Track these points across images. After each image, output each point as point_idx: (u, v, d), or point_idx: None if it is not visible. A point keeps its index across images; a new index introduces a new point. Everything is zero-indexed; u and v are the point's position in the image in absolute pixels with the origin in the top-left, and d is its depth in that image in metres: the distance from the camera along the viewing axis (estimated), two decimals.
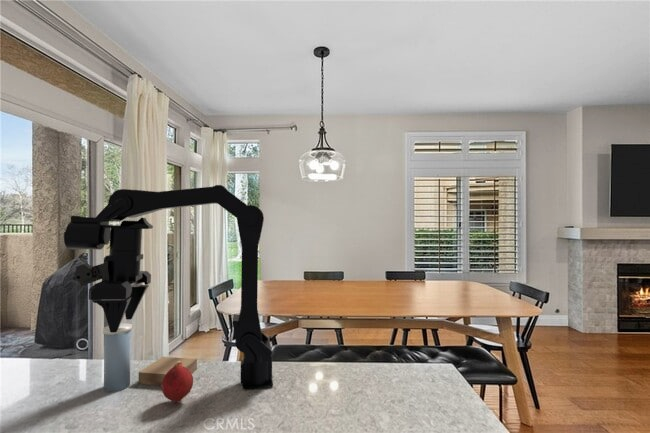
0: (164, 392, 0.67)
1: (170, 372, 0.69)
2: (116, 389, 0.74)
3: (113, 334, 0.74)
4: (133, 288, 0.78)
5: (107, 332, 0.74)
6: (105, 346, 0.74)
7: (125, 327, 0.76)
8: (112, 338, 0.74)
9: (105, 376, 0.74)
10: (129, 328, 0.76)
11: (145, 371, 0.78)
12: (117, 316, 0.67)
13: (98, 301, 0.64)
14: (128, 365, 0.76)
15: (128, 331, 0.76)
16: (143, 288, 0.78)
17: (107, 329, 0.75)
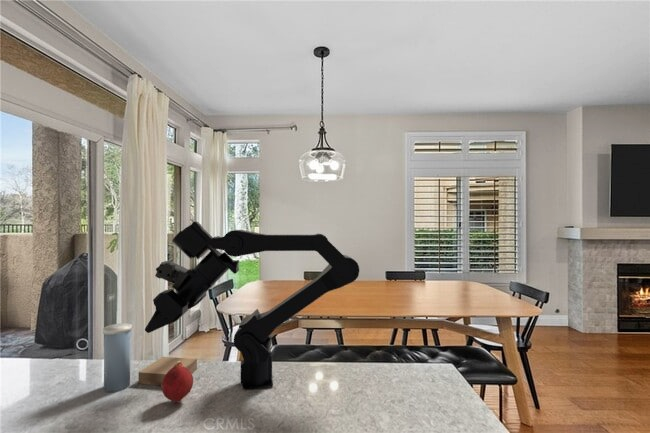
0: (164, 392, 0.67)
1: (170, 372, 0.69)
2: (116, 389, 0.74)
3: (113, 334, 0.74)
4: None
5: (107, 332, 0.74)
6: (105, 346, 0.74)
7: (125, 327, 0.76)
8: (112, 338, 0.74)
9: (105, 376, 0.74)
10: (129, 328, 0.76)
11: (145, 371, 0.78)
12: (159, 324, 0.71)
13: (157, 306, 0.69)
14: (128, 365, 0.76)
15: (128, 331, 0.76)
16: (192, 305, 0.82)
17: (107, 329, 0.75)
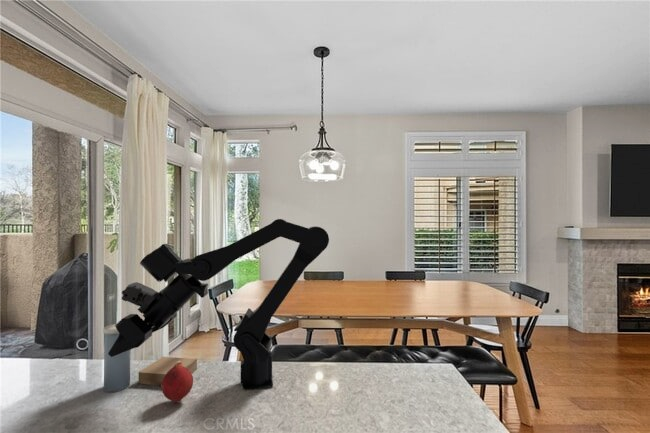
0: (164, 392, 0.67)
1: (170, 372, 0.69)
2: (116, 389, 0.74)
3: (113, 334, 0.74)
4: None
5: (107, 332, 0.74)
6: (105, 346, 0.74)
7: None
8: (112, 338, 0.74)
9: (105, 376, 0.74)
10: None
11: (145, 371, 0.78)
12: (122, 348, 0.71)
13: None
14: (128, 365, 0.76)
15: None
16: (161, 326, 0.82)
17: (107, 329, 0.75)
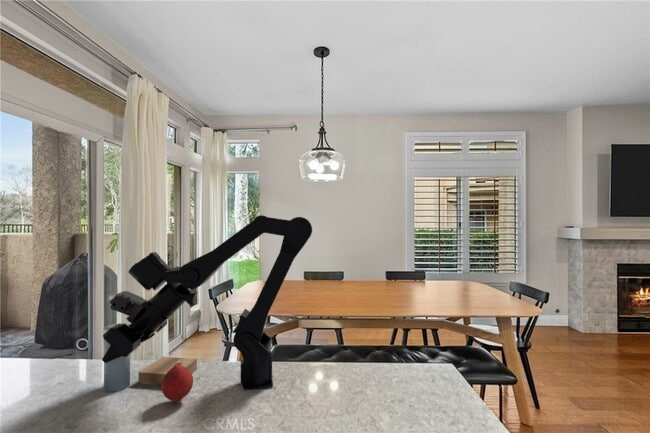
0: (164, 392, 0.67)
1: (170, 372, 0.69)
2: (116, 389, 0.74)
3: None
4: None
5: None
6: (105, 346, 0.74)
7: None
8: None
9: (105, 376, 0.74)
10: None
11: (145, 371, 0.78)
12: (116, 354, 0.73)
13: None
14: (128, 365, 0.76)
15: None
16: (147, 337, 0.80)
17: (107, 329, 0.75)
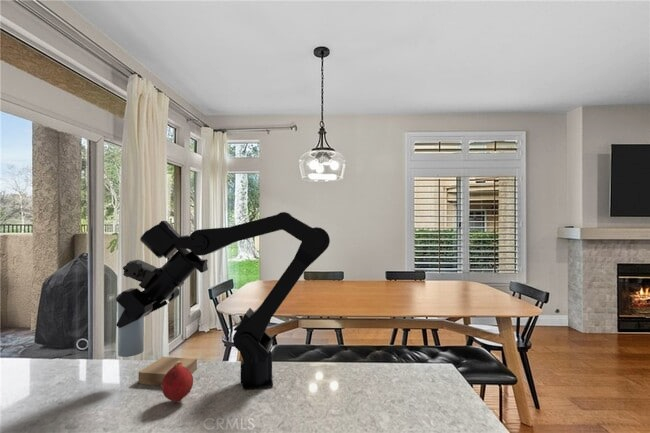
0: (164, 392, 0.67)
1: (170, 372, 0.69)
2: (130, 354, 0.75)
3: None
4: None
5: None
6: (119, 312, 0.76)
7: None
8: None
9: (119, 341, 0.76)
10: None
11: (145, 371, 0.78)
12: (129, 319, 0.74)
13: None
14: (141, 331, 0.78)
15: None
16: (160, 305, 0.81)
17: None
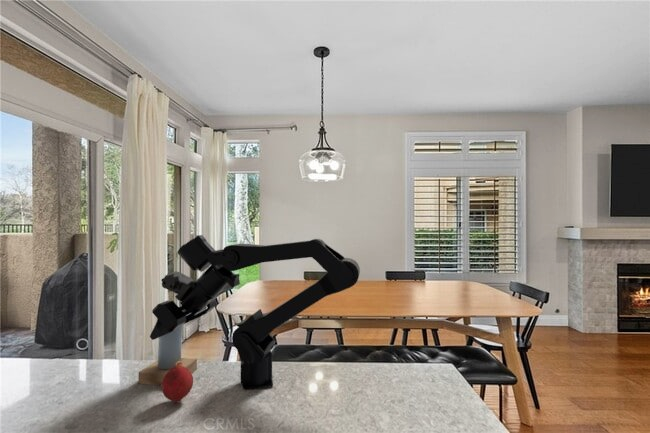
0: (164, 392, 0.67)
1: (170, 372, 0.69)
2: (167, 367, 0.79)
3: None
4: None
5: None
6: None
7: None
8: None
9: (159, 354, 0.80)
10: None
11: (145, 371, 0.78)
12: (161, 332, 0.76)
13: None
14: (179, 345, 0.81)
15: None
16: (200, 314, 0.86)
17: None
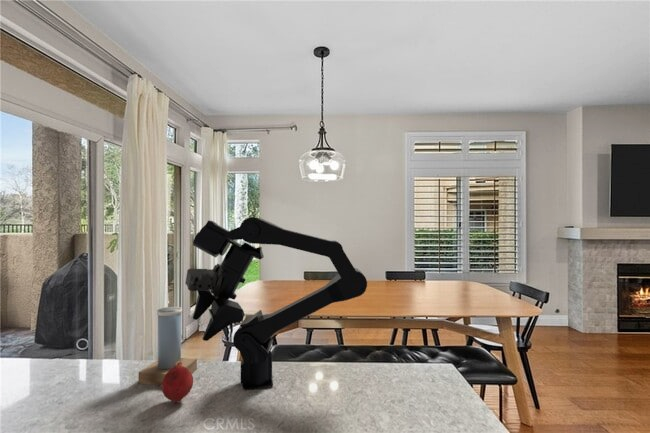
0: (164, 392, 0.67)
1: (170, 372, 0.69)
2: (167, 367, 0.79)
3: (164, 316, 0.79)
4: (210, 293, 0.83)
5: (159, 314, 0.79)
6: (158, 326, 0.80)
7: (175, 310, 0.81)
8: (163, 319, 0.79)
9: (158, 354, 0.80)
10: (179, 311, 0.81)
11: (145, 371, 0.78)
12: (218, 329, 0.74)
13: (217, 317, 0.71)
14: (179, 345, 0.81)
15: (178, 314, 0.81)
16: None
17: (160, 311, 0.80)
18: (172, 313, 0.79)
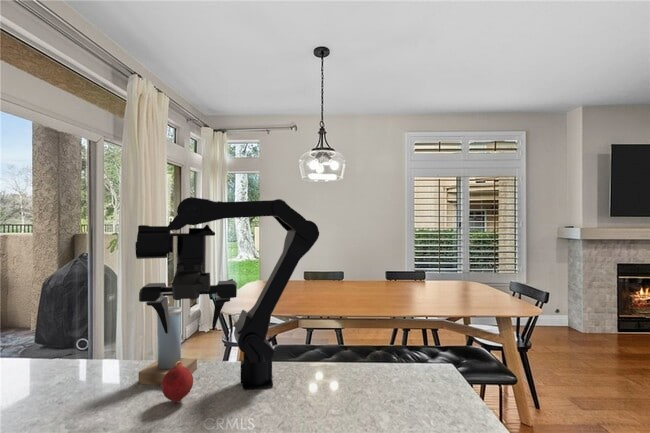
0: (164, 392, 0.67)
1: (170, 372, 0.69)
2: (167, 367, 0.79)
3: None
4: (165, 300, 0.73)
5: None
6: (158, 326, 0.80)
7: (175, 310, 0.81)
8: None
9: (158, 354, 0.80)
10: (178, 311, 0.81)
11: (145, 371, 0.78)
12: None
13: None
14: (178, 345, 0.81)
15: (177, 313, 0.81)
16: (167, 298, 0.75)
17: None
18: (171, 313, 0.80)
